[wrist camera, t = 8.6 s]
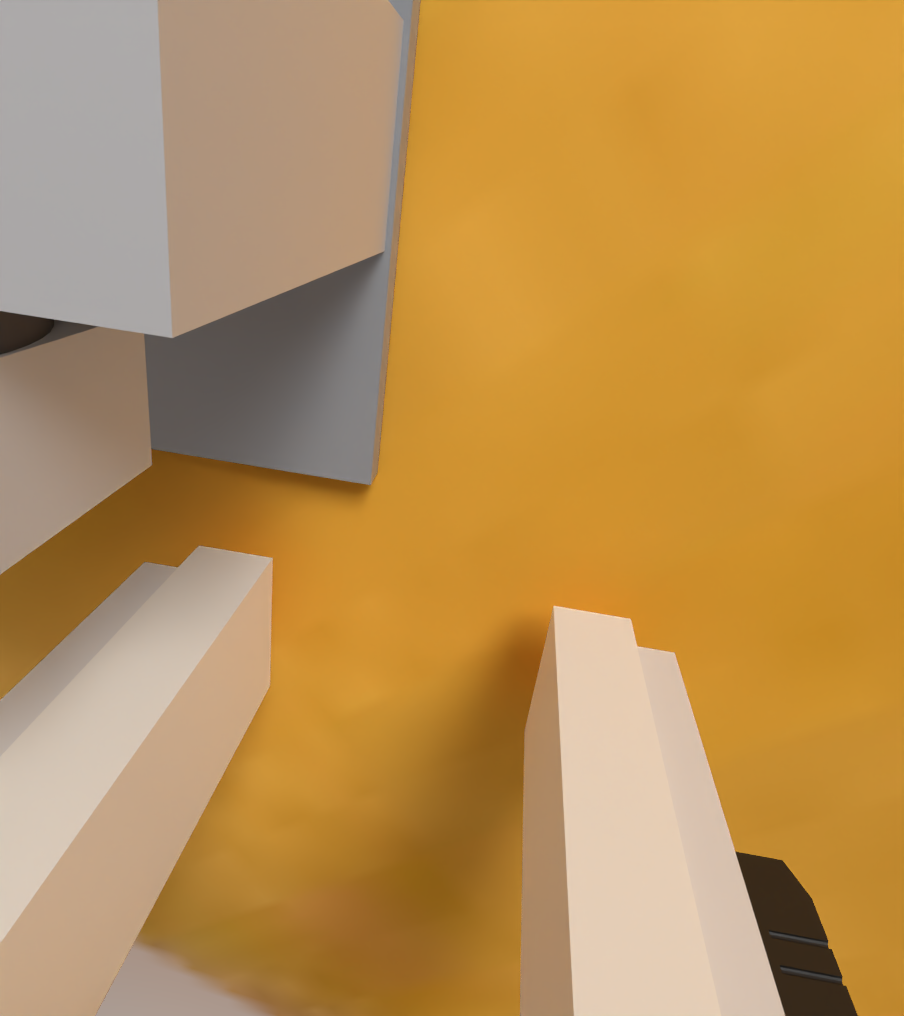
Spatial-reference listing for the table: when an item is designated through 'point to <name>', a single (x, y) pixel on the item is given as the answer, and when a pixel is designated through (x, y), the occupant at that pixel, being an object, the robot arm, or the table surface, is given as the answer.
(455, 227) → the table surface
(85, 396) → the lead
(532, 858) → the u-shaped clip
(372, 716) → the table surface
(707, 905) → the robot arm
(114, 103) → the cradle
